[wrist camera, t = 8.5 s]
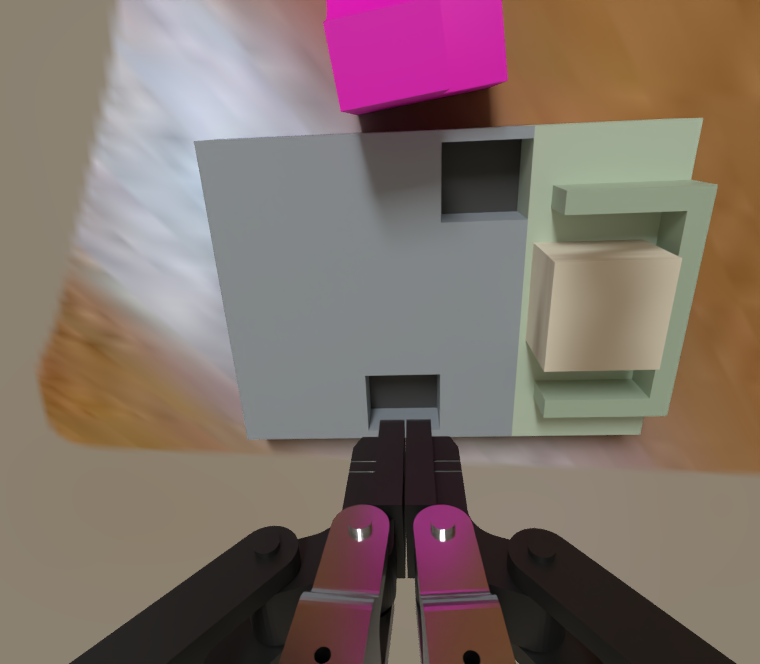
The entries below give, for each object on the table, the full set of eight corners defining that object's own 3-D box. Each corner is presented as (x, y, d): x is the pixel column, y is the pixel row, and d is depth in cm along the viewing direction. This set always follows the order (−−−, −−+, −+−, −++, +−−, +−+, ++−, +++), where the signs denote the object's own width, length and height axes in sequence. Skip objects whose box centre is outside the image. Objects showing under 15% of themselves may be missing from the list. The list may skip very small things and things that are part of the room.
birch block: (642, 239, 23) (682, 258, 19) (625, 337, 25) (659, 369, 21) (533, 242, 23) (554, 262, 20) (525, 339, 25) (543, 371, 22)
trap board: (672, 118, 23) (733, 117, 19) (621, 409, 29) (657, 457, 25) (213, 139, 24) (175, 143, 20) (259, 415, 30) (236, 461, 26)
